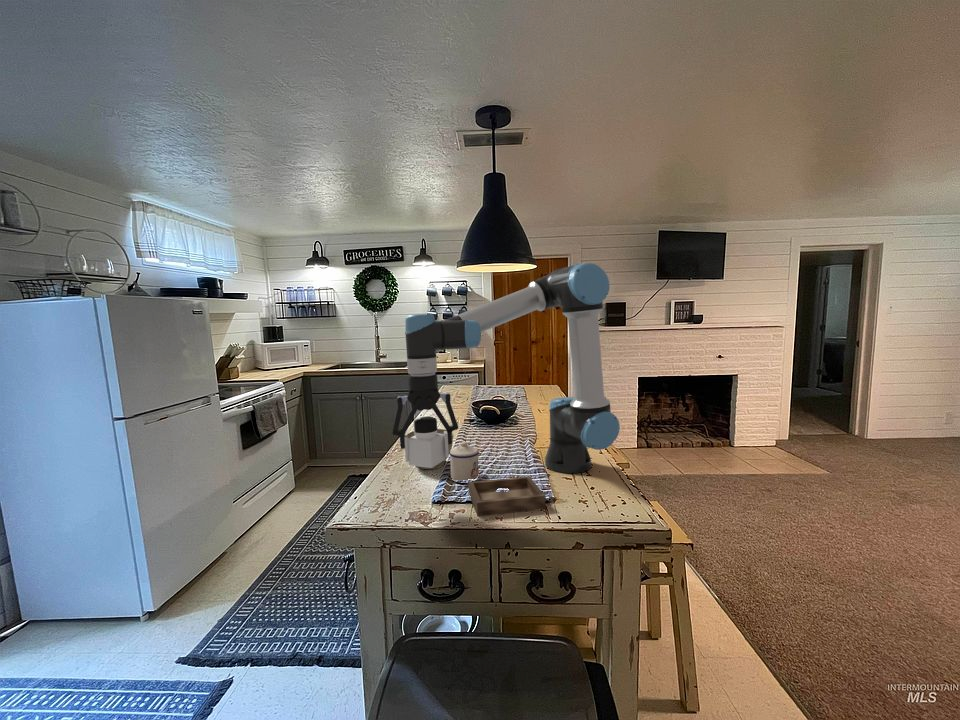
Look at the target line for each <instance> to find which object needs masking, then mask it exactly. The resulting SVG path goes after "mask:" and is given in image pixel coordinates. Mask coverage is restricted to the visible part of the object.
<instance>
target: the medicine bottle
mask: <svg viewBox="0 0 960 720" xmlns="http://www.w3.org/2000/svg"><path fill="white" fill-rule="evenodd" d="M437 429H438V420H437V418H436V417H434V416H420V417H418V418H416V419H414V420H413V431H414V434H415V436H413V437H411V438H408V456H409V462H408V466H412V467H413V466H414V467H417V466H419V467H427V468H433V467H434V466H436V465H437V464H439V463H440V462H442V461H444V460H445V443H444V434H439V433H437ZM445 461H446V460H445ZM419 467H418V468H419Z"/></svg>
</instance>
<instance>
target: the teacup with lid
mask: <svg viewBox="0 0 960 720" xmlns="http://www.w3.org/2000/svg"><path fill="white" fill-rule="evenodd" d="M449 457H450V479H451V478H452V479H454V480H468V479H473V478H475V477H477V476H478V474H479V450H478V448H477V447H474V446H471V445H470V444H468V443H467V442H466V441H462V442H460V444H459V445H457V446H456V447H453V448H452V449H451V450H450V453H449Z"/></svg>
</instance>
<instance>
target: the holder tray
mask: <svg viewBox="0 0 960 720" xmlns="http://www.w3.org/2000/svg"><path fill="white" fill-rule="evenodd" d="M498 488H508V489H509V491H508V492H506V491H505V492H504V491H502V492H495V491H496V490H497V489H498ZM469 493H470V496H471V498H470V500H472V501H471V503H472V506H473V509H474V511H475V514H476V517H483V516H493V515H501V514H509V513H519V512H521V513H522V512H527V511H529V512H530V511H536V510H537V511H538V510H546V495H545V494H544V492H543V491H542V490H541V489H540V488H539V486H538V484H536V483H535V481H534V480H533V479H532V478H531V476H518V477H509V478H498V479H486V480H477V481H475V482H469V483H468V494H469ZM470 496H469V497H470Z"/></svg>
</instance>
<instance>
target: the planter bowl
mask: <svg viewBox="0 0 960 720" xmlns="http://www.w3.org/2000/svg"><path fill="white" fill-rule="evenodd" d="M444 431H447V430H446V429H445V428H444V429H443V428H437V433H439V434H444ZM406 434H407V438H411V437H413V436H415V434H414V430H412V431H410V432H408V433H406ZM453 439H454V431H452V444H448V453H450V450H451V449H453V448H452V447H453V442H454V440H453ZM447 459H448V458H446V457H445V460H444V461H442V462H440V463H439V464H437V465H436V466H434V467H433V468H427V467H419V466H416V467H417V468H419V469H423V470H435V469H439V468H441V467H443V466H445V463H446V460H447Z"/></svg>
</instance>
